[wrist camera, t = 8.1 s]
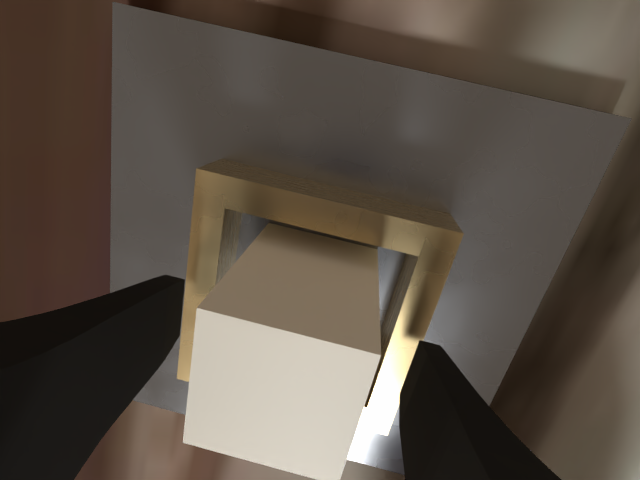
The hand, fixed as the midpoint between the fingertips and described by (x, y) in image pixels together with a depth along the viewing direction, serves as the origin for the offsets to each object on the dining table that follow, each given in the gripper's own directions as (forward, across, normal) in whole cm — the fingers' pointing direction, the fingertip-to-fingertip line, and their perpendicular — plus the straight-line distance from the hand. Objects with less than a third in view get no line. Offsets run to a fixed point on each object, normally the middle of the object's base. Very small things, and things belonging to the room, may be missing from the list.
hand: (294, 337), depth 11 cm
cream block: (+3, 0, 0) cm, 3 cm away
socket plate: (+4, 0, 0) cm, 4 cm away
